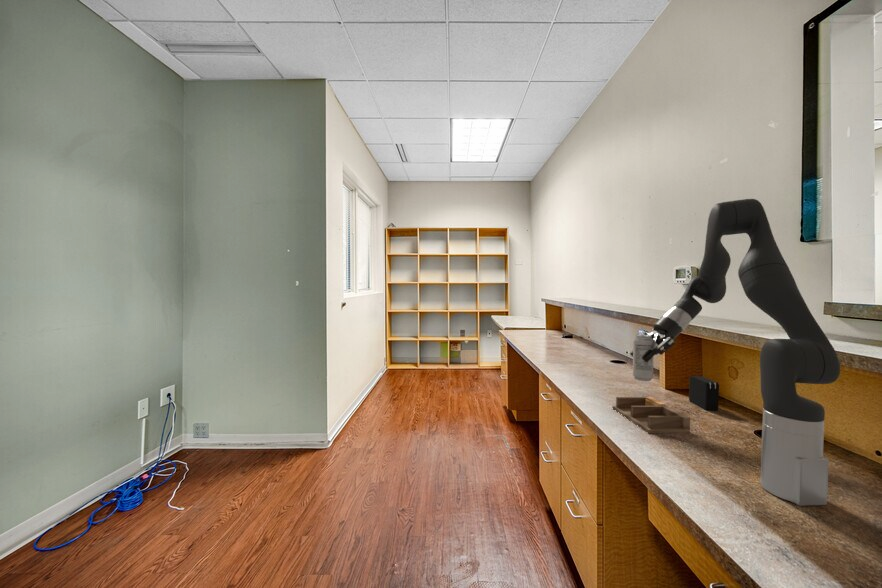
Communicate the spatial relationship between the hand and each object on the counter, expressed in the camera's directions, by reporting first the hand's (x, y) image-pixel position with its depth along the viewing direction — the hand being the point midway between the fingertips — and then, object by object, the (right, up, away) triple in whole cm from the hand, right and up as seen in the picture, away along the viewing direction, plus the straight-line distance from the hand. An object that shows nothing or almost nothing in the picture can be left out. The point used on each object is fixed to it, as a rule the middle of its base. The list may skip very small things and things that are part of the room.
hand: (638, 357), depth 118 cm
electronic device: (+30, -20, +10) cm, 37 cm away
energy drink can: (+2, -7, 0) cm, 8 cm away
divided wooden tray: (+1, -20, -4) cm, 20 cm away
